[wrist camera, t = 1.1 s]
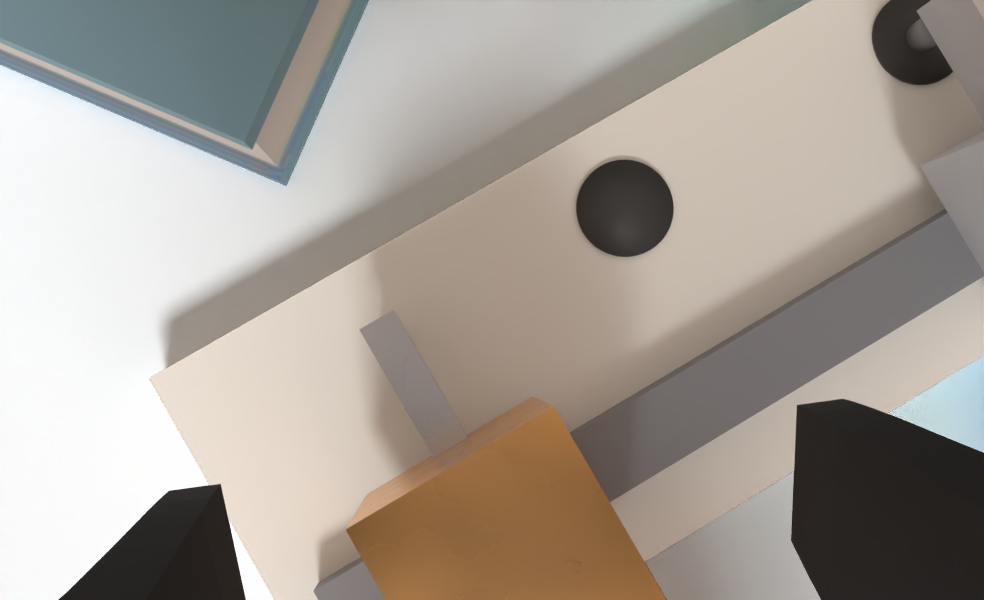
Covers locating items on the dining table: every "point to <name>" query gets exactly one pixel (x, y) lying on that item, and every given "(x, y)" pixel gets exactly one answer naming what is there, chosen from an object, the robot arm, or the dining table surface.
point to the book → (192, 66)
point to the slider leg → (490, 504)
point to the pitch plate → (637, 293)
